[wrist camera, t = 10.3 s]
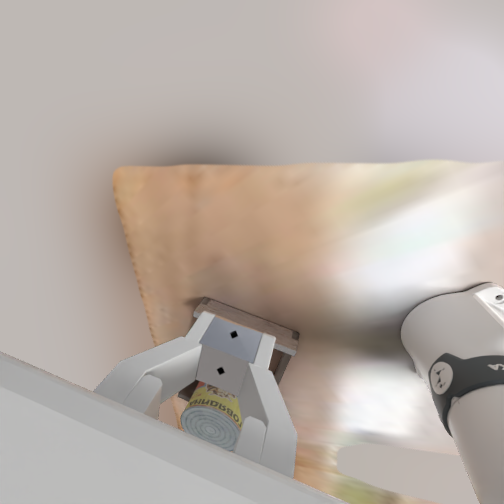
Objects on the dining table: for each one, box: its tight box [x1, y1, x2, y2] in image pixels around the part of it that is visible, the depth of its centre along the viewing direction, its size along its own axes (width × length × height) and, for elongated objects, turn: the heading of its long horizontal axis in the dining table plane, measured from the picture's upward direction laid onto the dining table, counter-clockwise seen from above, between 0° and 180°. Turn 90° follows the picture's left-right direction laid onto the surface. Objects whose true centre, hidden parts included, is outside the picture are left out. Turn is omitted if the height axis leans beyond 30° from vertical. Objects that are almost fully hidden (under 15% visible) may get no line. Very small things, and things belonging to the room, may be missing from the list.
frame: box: [178, 297, 299, 401], centre depth 52 cm, size 18×24×4 cm
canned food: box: [181, 381, 243, 451], centre depth 51 cm, size 11×11×12 cm
